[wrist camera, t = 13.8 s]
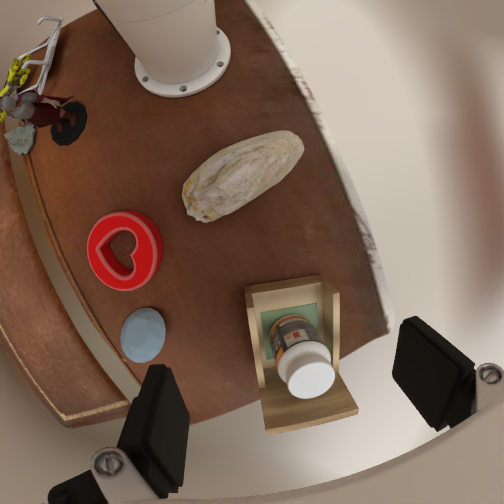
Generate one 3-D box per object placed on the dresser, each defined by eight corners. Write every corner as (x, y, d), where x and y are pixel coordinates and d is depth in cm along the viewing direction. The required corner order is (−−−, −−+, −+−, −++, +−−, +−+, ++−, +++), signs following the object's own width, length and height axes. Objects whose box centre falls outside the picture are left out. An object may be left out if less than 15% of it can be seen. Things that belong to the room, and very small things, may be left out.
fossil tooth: (304, 165, 33) (204, 231, 32) (278, 123, 31) (175, 188, 31) (350, 152, 22) (204, 248, 21) (313, 92, 20) (159, 182, 19)
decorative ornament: (89, 221, 31) (77, 224, 28) (152, 202, 31) (144, 202, 28) (108, 289, 33) (99, 297, 30) (171, 276, 33) (166, 284, 30)
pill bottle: (261, 323, 32) (273, 373, 22) (305, 305, 32) (332, 347, 22) (277, 358, 33) (292, 410, 23) (318, 341, 33) (345, 387, 23)
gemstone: (183, 364, 32) (163, 357, 28) (138, 370, 33) (115, 364, 29) (179, 311, 37) (160, 298, 32) (136, 321, 38) (115, 310, 33)
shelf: (243, 286, 34) (250, 343, 20) (320, 274, 35) (368, 320, 21) (255, 362, 37) (266, 435, 23) (322, 350, 37) (358, 414, 23)
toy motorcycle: (40, 57, 22) (27, 56, 23) (24, 51, 18) (12, 51, 19) (10, 126, 25) (0, 118, 26) (-8, 124, 22) (-15, 116, 22)
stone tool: (36, 123, 26) (27, 156, 27) (42, 125, 28) (33, 157, 28) (4, 122, 24) (-4, 152, 25) (10, 124, 26) (2, 153, 27)
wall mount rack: (51, 82, 22) (14, 81, 17) (32, 115, 30) (5, 117, 25) (73, 4, 19) (43, 1, 14) (47, 46, 27) (22, 45, 22)
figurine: (51, 152, 28) (-22, 141, 14) (52, 107, 27) (-13, 82, 12) (87, 138, 29) (15, 115, 14) (87, 91, 27) (25, 53, 12)
